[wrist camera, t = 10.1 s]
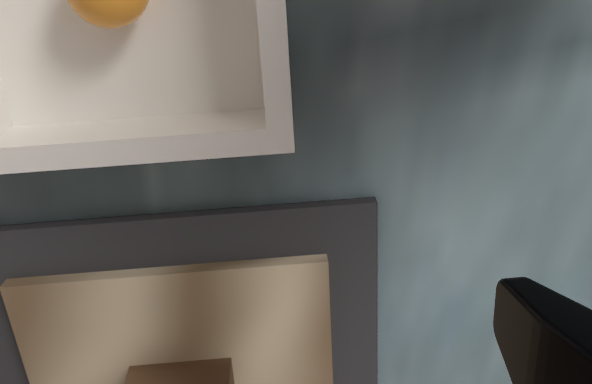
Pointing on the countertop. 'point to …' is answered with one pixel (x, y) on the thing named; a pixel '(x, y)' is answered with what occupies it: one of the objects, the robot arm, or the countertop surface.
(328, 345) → the lid
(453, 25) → the countertop surface
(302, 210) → the mat
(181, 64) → the dish
